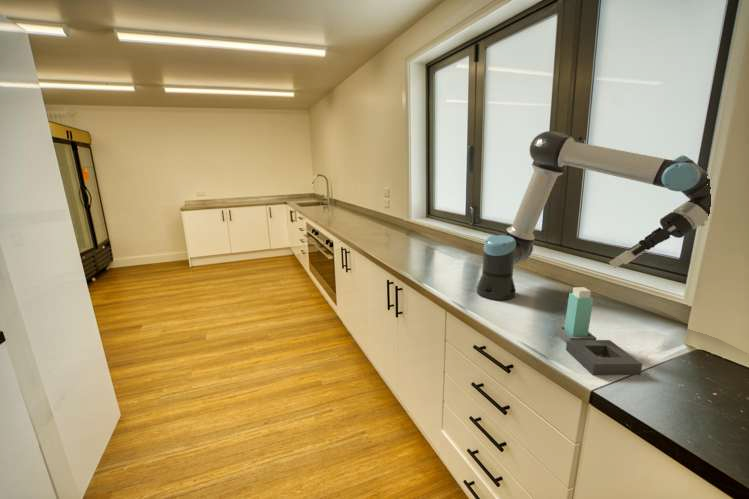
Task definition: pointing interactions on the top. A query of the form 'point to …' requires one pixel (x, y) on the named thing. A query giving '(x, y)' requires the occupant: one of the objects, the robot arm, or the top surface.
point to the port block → (612, 365)
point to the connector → (578, 312)
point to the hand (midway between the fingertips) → (616, 263)
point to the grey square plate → (566, 336)
